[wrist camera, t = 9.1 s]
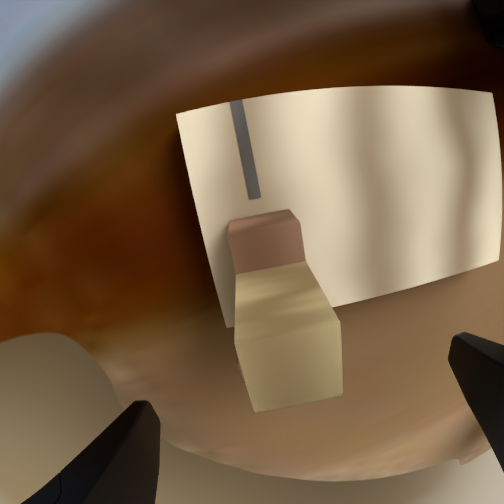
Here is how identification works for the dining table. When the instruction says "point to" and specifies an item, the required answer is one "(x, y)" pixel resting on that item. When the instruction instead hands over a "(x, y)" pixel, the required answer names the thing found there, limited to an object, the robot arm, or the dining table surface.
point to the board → (353, 182)
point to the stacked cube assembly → (281, 316)
